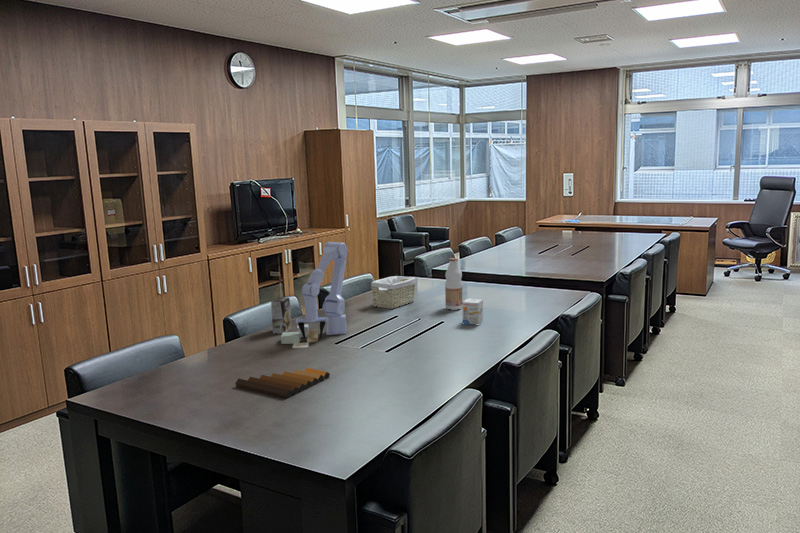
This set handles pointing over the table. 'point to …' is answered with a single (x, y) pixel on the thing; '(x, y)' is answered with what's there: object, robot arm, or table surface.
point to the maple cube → (312, 335)
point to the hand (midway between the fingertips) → (312, 337)
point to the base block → (290, 337)
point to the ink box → (472, 311)
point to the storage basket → (393, 291)
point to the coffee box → (281, 315)
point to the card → (300, 345)
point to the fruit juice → (453, 285)
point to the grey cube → (304, 329)
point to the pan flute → (284, 382)
